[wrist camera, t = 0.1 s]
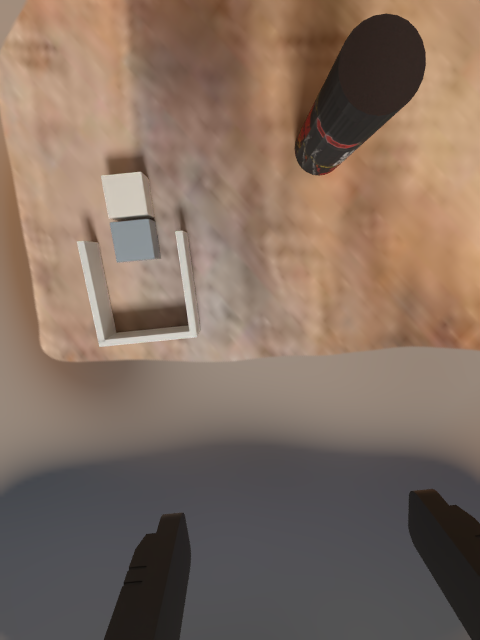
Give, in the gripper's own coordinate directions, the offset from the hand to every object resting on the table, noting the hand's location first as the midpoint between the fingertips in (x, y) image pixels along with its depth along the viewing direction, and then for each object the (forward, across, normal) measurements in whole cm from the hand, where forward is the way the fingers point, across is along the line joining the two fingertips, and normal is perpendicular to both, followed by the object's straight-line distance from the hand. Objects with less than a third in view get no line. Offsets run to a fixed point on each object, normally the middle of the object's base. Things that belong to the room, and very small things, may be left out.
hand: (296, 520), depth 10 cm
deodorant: (+29, -10, -21) cm, 37 cm away
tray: (+29, +13, -7) cm, 33 cm away
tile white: (+29, +13, -17) cm, 37 cm away
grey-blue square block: (+29, +13, -12) cm, 34 cm away
